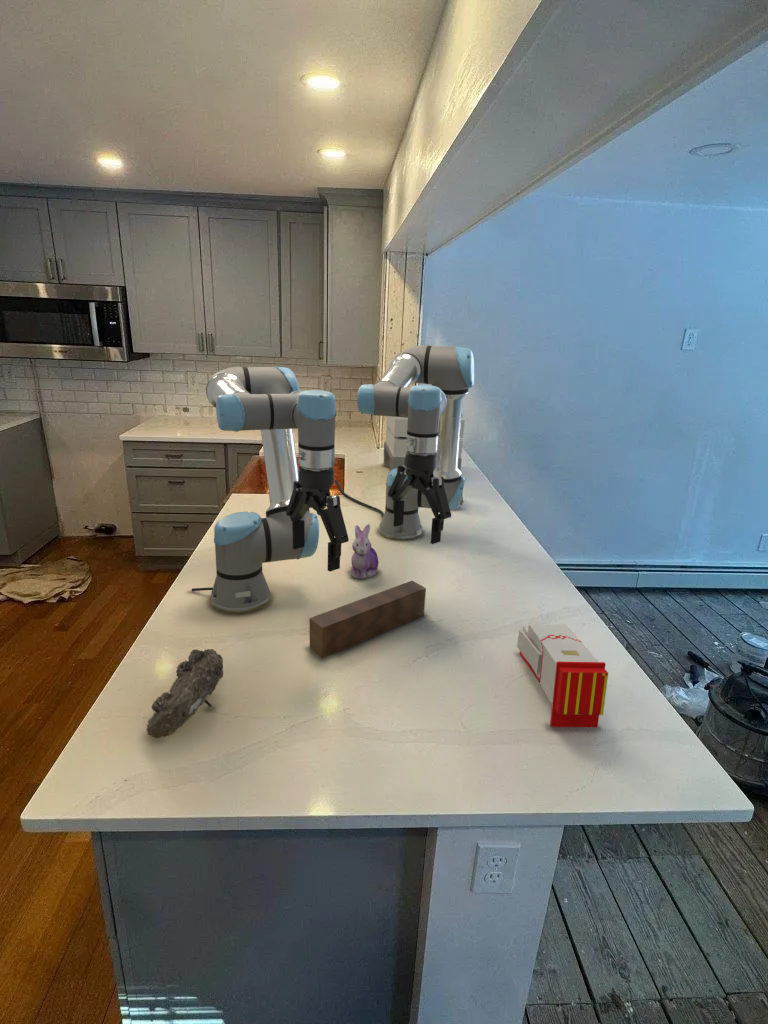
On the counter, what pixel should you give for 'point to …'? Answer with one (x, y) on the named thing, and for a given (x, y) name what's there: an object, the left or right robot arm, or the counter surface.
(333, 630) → the plank
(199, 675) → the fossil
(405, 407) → the right robot arm
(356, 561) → the figurine
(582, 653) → the toy
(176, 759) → the counter surface
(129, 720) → the counter surface
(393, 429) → the transformer
